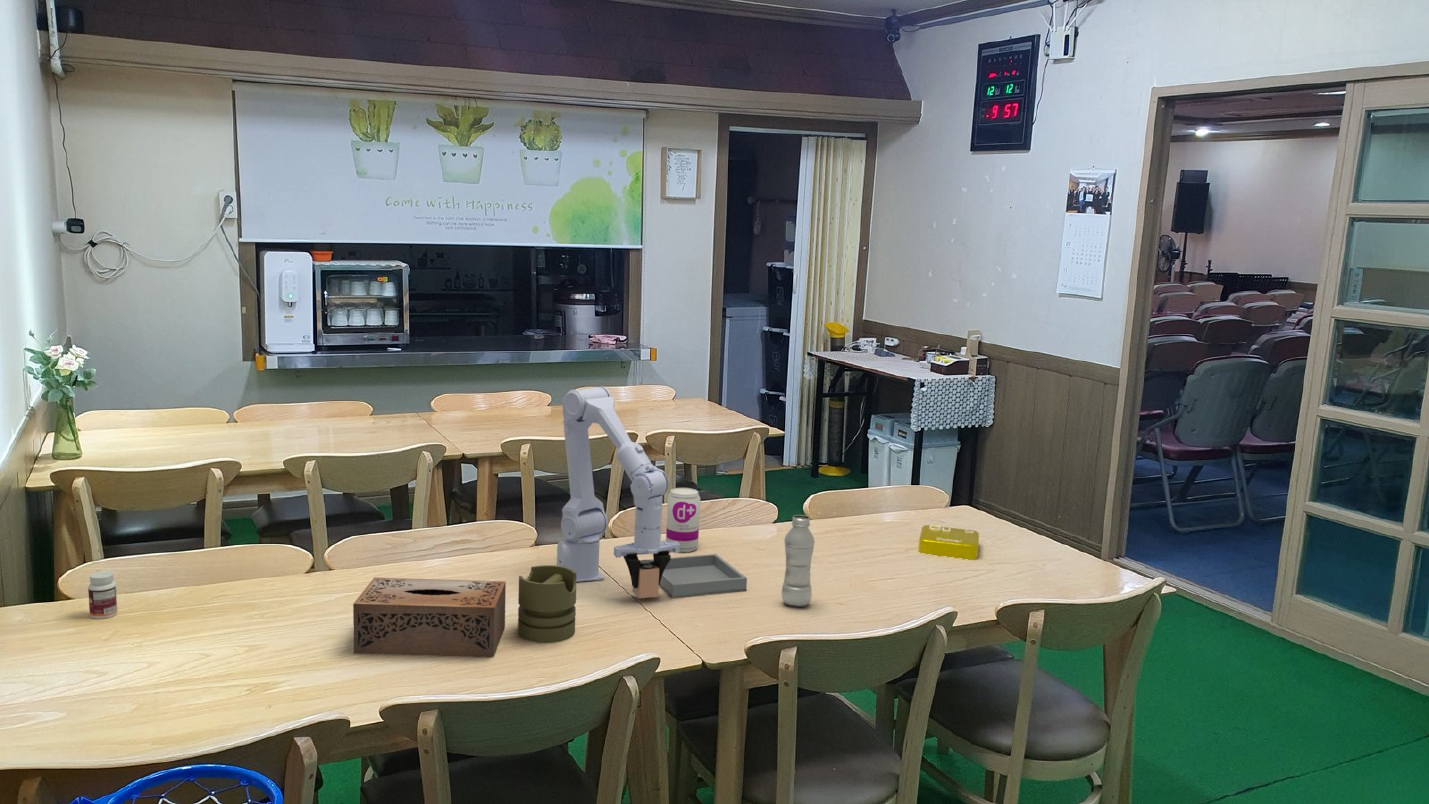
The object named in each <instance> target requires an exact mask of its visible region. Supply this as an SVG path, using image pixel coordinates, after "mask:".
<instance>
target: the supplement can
mask: <svg viewBox="0 0 1429 804" xmlns="http://www.w3.org/2000/svg"><path fill="white" fill-rule="evenodd" d="M666 506H667V510H666V533H665V534H666V535H665V542H678V543H679V544H680V551H679V553H690V552H694V551H695V550H696V549H697V548H698V547H699V533H700V531H699V530H700V518H701V517H700V514H701V513H700V512H701V496H700V494H699V490H697V489H694V488H689V487H676V488H672V489H670V492H669V493H668V495H667V505H666Z"/></svg>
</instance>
